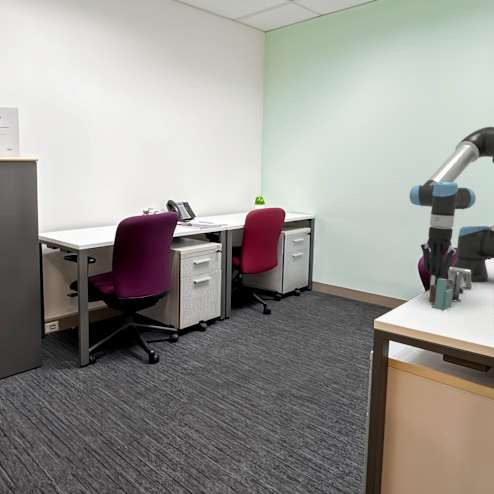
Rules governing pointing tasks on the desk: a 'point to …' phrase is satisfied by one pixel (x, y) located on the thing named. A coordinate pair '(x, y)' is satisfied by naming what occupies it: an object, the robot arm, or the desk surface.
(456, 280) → the hinge post
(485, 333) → the desk surface
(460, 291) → the camera
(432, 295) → the gate
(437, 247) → the robot arm
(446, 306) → the stile
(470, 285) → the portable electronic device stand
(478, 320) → the desk surface
